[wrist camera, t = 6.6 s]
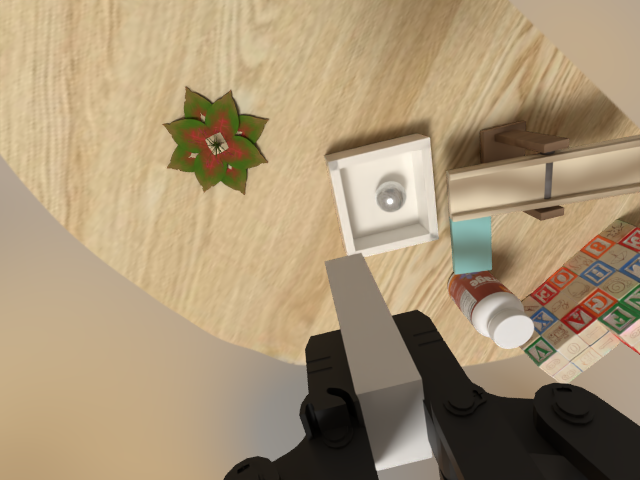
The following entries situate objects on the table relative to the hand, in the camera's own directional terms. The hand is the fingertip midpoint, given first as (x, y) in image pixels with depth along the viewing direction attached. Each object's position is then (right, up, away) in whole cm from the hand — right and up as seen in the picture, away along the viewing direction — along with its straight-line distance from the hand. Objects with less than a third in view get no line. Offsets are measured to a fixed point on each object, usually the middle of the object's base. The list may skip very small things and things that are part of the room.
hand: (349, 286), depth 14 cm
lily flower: (-13, +13, +25) cm, 31 cm away
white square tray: (+6, +8, +28) cm, 30 cm away
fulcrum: (+21, +11, +28) cm, 37 cm away
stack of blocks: (+35, -4, +37) cm, 51 cm away
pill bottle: (+20, -4, +35) cm, 40 cm away
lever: (+23, +5, +23) cm, 33 cm away
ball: (+7, +7, +26) cm, 28 cm away
